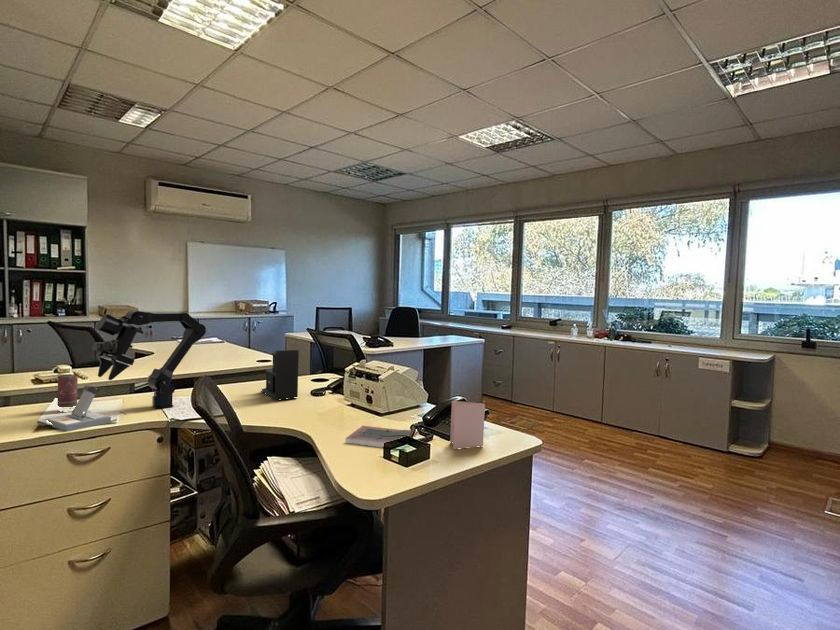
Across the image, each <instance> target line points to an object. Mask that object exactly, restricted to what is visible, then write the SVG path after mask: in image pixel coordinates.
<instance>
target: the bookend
mask: <svg viewBox="0 0 840 630" xmlns="http://www.w3.org/2000/svg"><path fill="white" fill-rule="evenodd" d="M299 356H300V351H299V349H287V350H286V349H283V350H278V349H277V350H275V352H274V351H273V352H272V368H270V369H269V368H268V369H265V373H266V376H265V377H266V378H265V379H266V380H265V388H261V390H262V391H263V392H264V393H266V394H267V395H269V396H270V397H272V398H273V399H275V400H278V401H280V400H279V399H286V398H294V397H298V395H299V394H298V393H299V392H298V391H299V390H298V389H299ZM264 393H263V394H264ZM267 395H266V396H267ZM269 396H268V397H269ZM270 397H269V398H270ZM272 398H271V399H272ZM273 399H272V400H273ZM275 400H274V401H275Z"/></svg>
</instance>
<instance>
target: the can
mask: <svg viewBox="0 0 840 630" xmlns="http://www.w3.org/2000/svg"><path fill="white" fill-rule="evenodd" d="M78 379H79V377H78V376H77V374H63V375H59V376H58V378H57V405H58V406H59V407H73V406H76V405H77V403H78V382H79V381H78Z"/></svg>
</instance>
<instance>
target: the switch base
mask: <svg viewBox="0 0 840 630" xmlns="http://www.w3.org/2000/svg"><path fill="white" fill-rule="evenodd" d="M46 420H48V421H49V422H51V423H52V424H53V426H52V427H51V428H54V429H57V430H61V431H63V432H71V431H75V430H76V431H77V430H81V429H85V428H90V427H96V426H99V425H104V424H105V425H106V424H109V423H111V422H112V417H111V416H110V415H106V414H101V413H98V412H95V411H90V410H87V412H86V417H84V418H81V417H77V416H74V415H72V413H71V414H67V415H61V416H56V417H50V418H45V421H46Z"/></svg>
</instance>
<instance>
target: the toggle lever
mask: <svg viewBox="0 0 840 630" xmlns="http://www.w3.org/2000/svg"><path fill="white" fill-rule="evenodd" d="M99 390H100V389H99V388H98V387H97V386H93V385H84V386H83V389H82V393H81V395H80V397H79V399H78V400H77V405H76V407H75V409H74V410H73V411H72V412H71V414H72V415H74V416H77V417H81V418H84V417H86V412H88V411H89V408H90V406H91V405H92V402H93V401H94V398H95V396H96V394H98V393H99Z"/></svg>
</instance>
